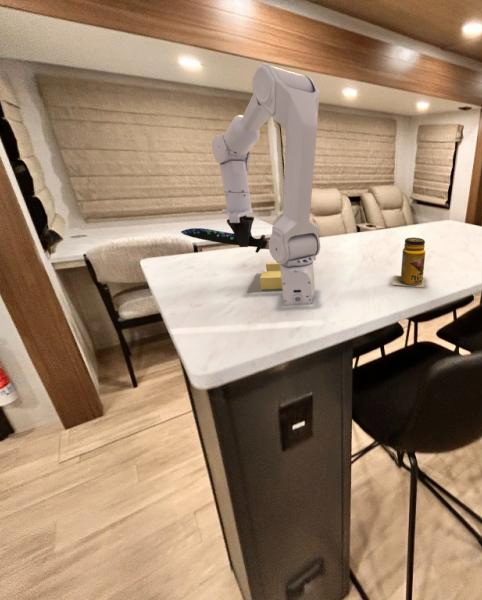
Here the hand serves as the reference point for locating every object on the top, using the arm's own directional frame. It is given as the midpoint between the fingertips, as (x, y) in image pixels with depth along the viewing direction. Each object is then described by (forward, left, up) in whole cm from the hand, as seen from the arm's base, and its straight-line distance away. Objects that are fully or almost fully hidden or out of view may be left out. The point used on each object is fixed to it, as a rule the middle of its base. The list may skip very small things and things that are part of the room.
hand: (244, 245), depth 82 cm
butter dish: (-7, -8, -8) cm, 14 cm away
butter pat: (-1, -8, -8) cm, 11 cm away
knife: (0, 0, -1) cm, 1 cm away
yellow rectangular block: (-10, -8, -8) cm, 15 cm away
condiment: (-9, -43, -9) cm, 45 cm away
